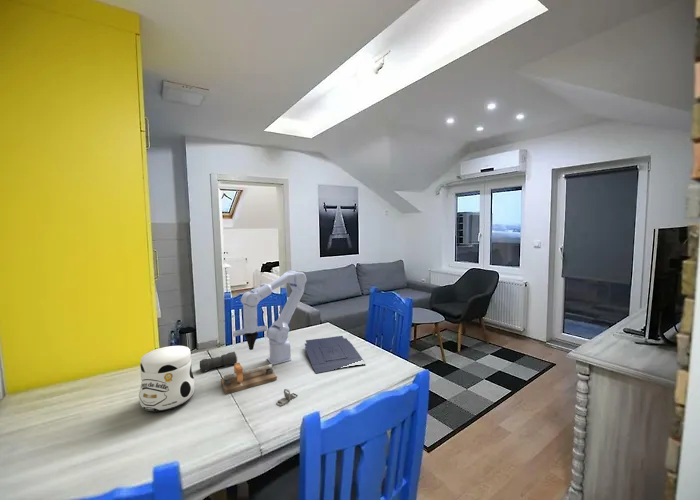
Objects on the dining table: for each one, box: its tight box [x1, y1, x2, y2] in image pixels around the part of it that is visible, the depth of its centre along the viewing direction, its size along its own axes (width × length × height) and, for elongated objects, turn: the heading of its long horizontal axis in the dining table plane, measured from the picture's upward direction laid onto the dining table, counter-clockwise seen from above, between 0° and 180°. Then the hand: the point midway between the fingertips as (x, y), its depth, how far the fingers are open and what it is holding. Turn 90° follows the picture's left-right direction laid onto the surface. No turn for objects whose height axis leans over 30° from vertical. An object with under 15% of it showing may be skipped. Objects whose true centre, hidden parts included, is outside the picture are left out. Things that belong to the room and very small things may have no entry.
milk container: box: [138, 345, 196, 413], centre depth 108 cm, size 17×17×18 cm
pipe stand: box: [220, 363, 278, 395], centre depth 123 cm, size 20×10×5 cm, turn 123°
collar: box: [233, 362, 244, 382], centre depth 120 cm, size 2×6×5 cm, turn 33°
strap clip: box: [275, 388, 298, 407], centre depth 110 cm, size 8×3×4 cm, turn 144°
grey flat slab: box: [304, 335, 364, 374], centre depth 148 cm, size 24×30×4 cm
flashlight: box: [199, 350, 238, 373], centre depth 136 cm, size 15×5×5 cm, turn 126°
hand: (251, 349), depth 133 cm, fingers closed
